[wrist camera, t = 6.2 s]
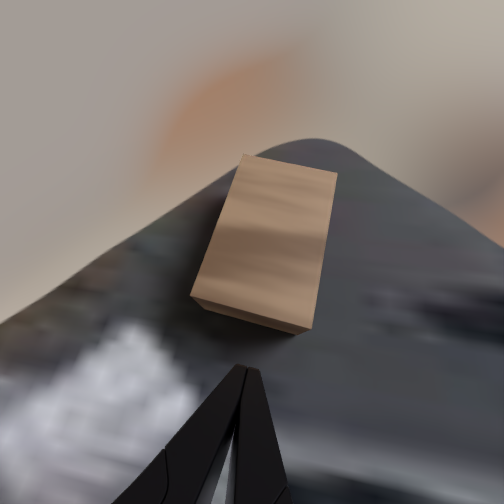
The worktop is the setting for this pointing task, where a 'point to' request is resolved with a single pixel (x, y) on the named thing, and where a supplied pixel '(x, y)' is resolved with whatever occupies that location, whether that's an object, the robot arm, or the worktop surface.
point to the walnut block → (268, 245)
